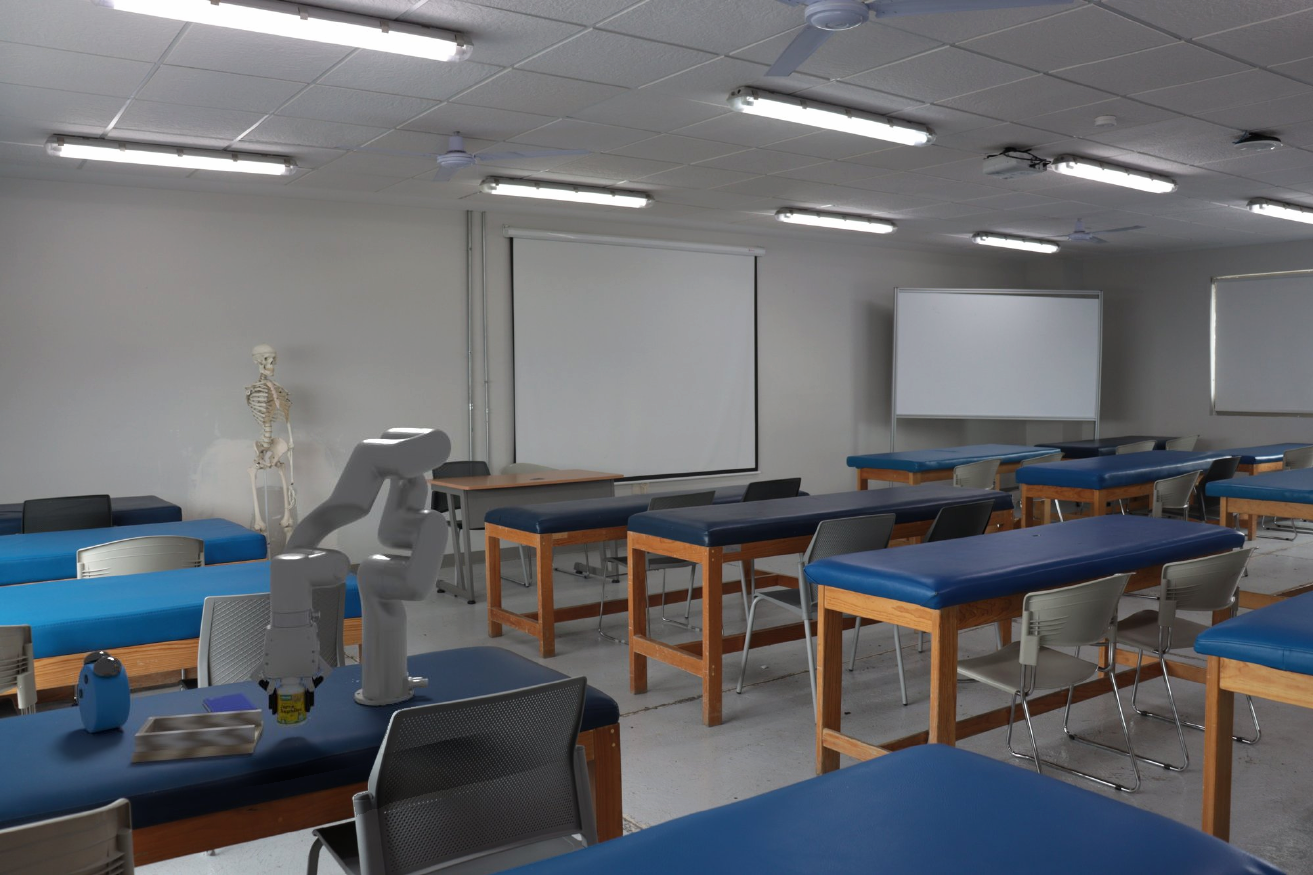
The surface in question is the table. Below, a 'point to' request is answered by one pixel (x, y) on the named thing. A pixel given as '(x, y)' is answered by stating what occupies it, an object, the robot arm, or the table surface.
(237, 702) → the hard drive
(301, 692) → the supplement bottle
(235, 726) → the rail holder
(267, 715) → the table surface
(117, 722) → the alarm clock
